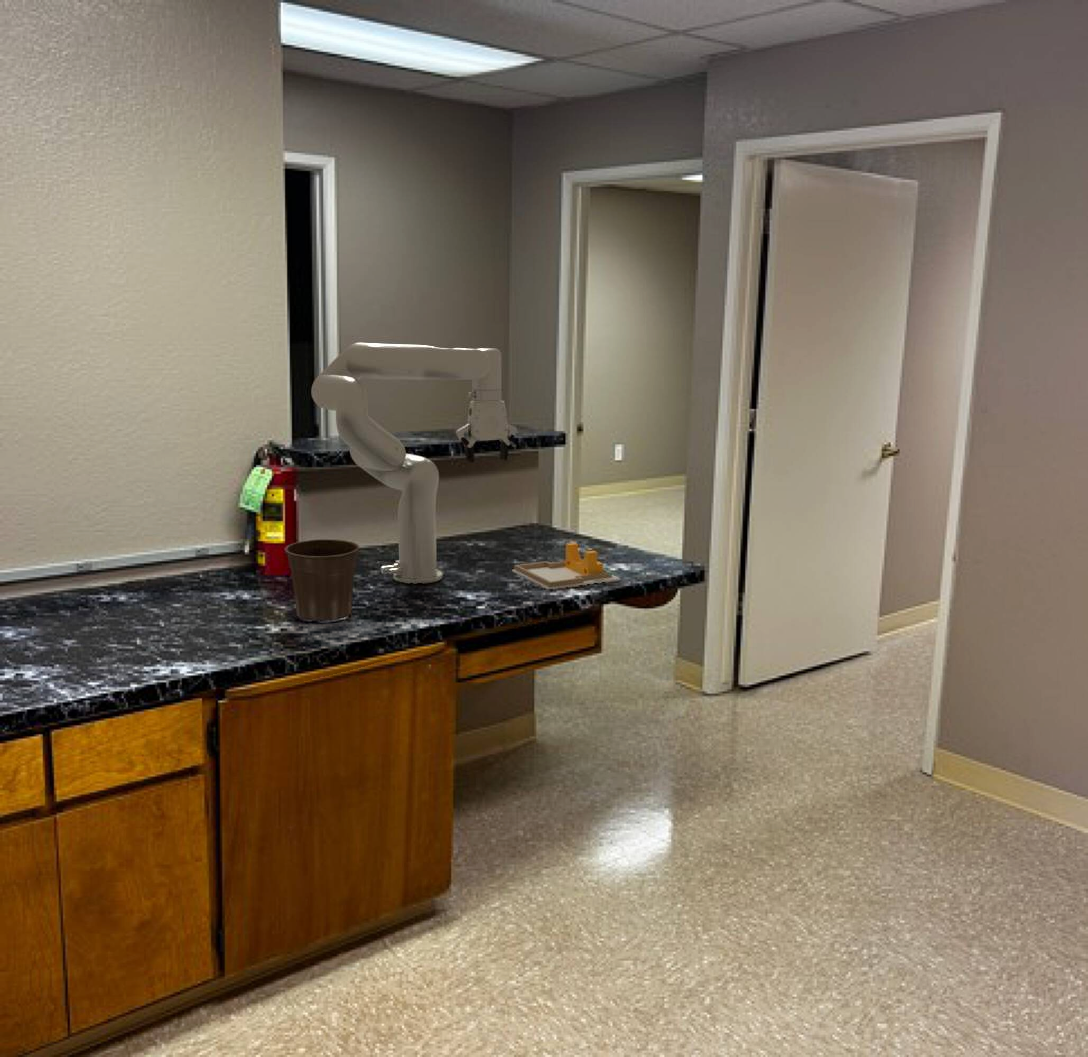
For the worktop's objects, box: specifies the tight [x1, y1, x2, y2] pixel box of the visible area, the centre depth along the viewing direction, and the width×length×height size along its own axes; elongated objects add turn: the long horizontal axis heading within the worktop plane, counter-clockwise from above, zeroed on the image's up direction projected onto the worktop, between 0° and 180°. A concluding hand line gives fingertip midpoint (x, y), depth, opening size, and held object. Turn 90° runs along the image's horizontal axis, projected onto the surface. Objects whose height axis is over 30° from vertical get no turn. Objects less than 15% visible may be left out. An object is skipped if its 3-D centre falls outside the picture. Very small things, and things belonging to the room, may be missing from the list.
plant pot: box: [284, 538, 360, 622], centre depth 242 cm, size 16×16×16 cm
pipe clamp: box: [565, 542, 604, 575], centre depth 282 cm, size 12×4×6 cm, turn 28°
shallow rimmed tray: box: [511, 558, 621, 591], centre depth 280 cm, size 21×20×2 cm
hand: (487, 460), depth 285 cm, fingers open, 9 cm apart
